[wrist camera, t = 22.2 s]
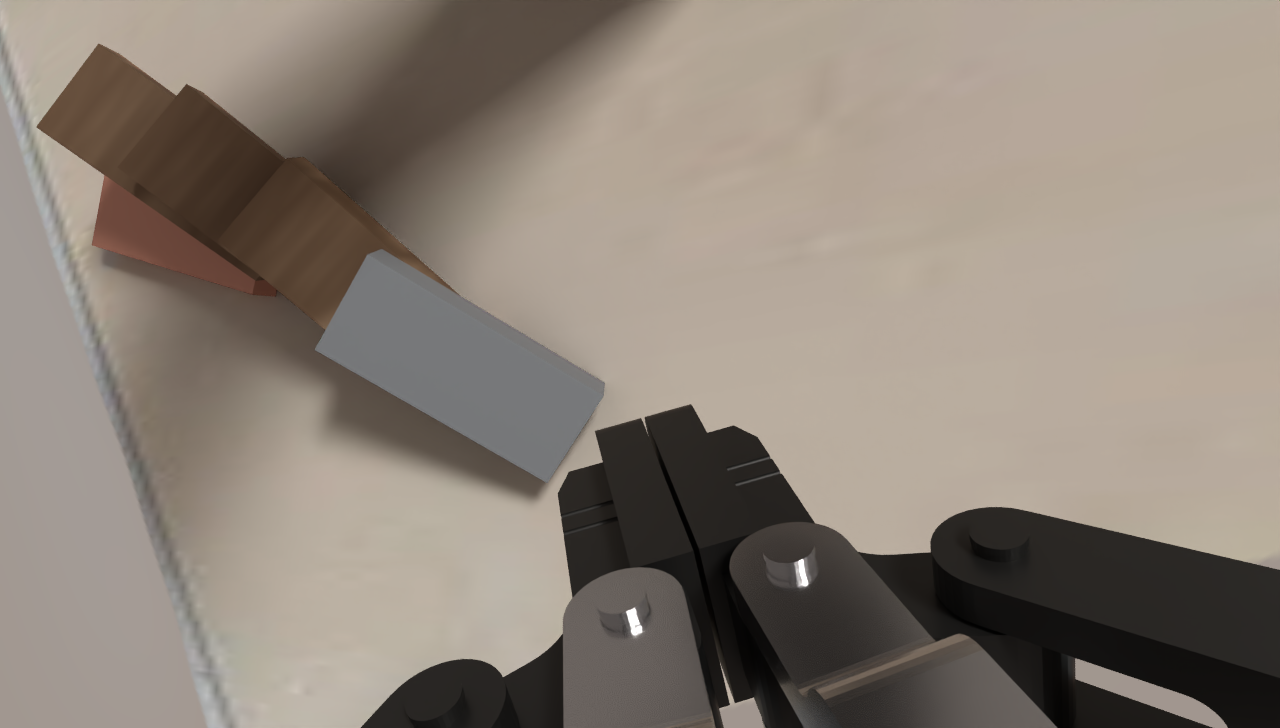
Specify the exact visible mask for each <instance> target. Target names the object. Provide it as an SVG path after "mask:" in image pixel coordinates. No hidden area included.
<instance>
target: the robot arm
mask: <svg viewBox="0 0 1280 728" xmlns="http://www.w3.org/2000/svg"><path fill="white" fill-rule="evenodd" d="M645 423H646V428H647V432H648V434H647V432H646V429H645V426H644V424H643V421H642V419H641V418H640V419H637V420H633V421H629V422H626V423H622V424H619V425H615V426H611V427H608V428H604V429H601V430H597V431H595V433H596V437H597V441H598V445H599V448H600V452H601V456H602V460H603V463H599V464H595V465H592V466H588V467H585V468H581V469H578V470H574V471H570V472H569V473H568V475H567V477H566V479H565V481H564V483H563V485H562V487H561V488H560V490H559V492H558V499H559V506H560V513H561V517H562V519H561V520H562V527H563V533H564V541H565V548H566V555H567V562H568V569H569V576H570V583H571V590H572V597H573V598H572V600H571V601H570V602H569V604H568V606H567V608H566V610H565V613H564V618H563V634H562V635H561V637H560V638H559V639H558V640H557V641H556V642H555V643H554V644H553V645H552V646H551V647H550V648H549V649H548V650H547V651H546V652H544V653H543V654H542V655H540V656H539V657H538V658H536V659H534V660H533V661H531V662H530V663H528V664H526V665H524V666H523V667H521V668H519V669H517V670H515V671H514V672H512V673H510V674H508V675H507V676H505V677H502V675H501V673H500V672H499V671H498V670H497V669H496V668H495V667H493V666H492V665H490V664H488V663H486V662H483V661H479V660H473V659H460V660H453V661H448V662H444V663H441V664H438V665H435V666H433V667H430V668H428V669H426V670H424V671H422V672H420V673H418V674H417V675H415V676H413V677H412V678H410V679H409V680H408V681H406V682H405V683H404V684H402V685H401V686H400V687H399V688H398V689H397V690H396V691H395V692H394V693H393V694H392V695H391V696H390V697H389V698H388V699H387V700H386V701H385V702H384V703H383V704H382V705H381V706H380V707H379V708H378V710H377V711H376V712H375V713H374V714H373V715H372V716H371V717H370V718H369V719H368V720H367V721H366V723H365V724H364V725H363V726H362V727H361V728H724V727H723V724H722V719H721V715H720V711H719V708H722V707H725V706H728V705H730V703H729V699H728V695H727V691H726V687H725V682H724V678H723V674H722V670H721V666H722V669H723V672H724V674H725V677H726V680H727V683H728V685H729V688H730V691H731V693H732V696H733V699H734V702H735V703H737V702H740V701H743V700H747V699H750V698H753V697H754V699H755V701H756V704H757V706H758V709H759V711H760V714H761V716H762V721H763V725H764V728H1212V727H1209V726H1206V725H1203V724H1200V723H1198V722H1195V721H1192V720H1189V719H1186V718H1183V717H1181V716H1178V715H1175V714H1172V713H1169V712H1166V711H1164V710H1161V709H1158V708H1155V707H1152V706H1149V705H1147V704H1144V703H1141V702H1138V701H1135V700H1132V699H1129V698H1127V697H1124V696H1121V695H1118V694H1115V693H1113V692H1110V691H1107V690H1104V689H1101V688H1098V687H1096V686H1093V685H1090V684H1087V683H1084V682H1081V681H1078V680H1076V679H1075V658H1077V659H1080V660H1083V661H1086V662H1089V663H1092V664H1095V665H1098V666H1101V667H1104V668H1107V669H1110V670H1113V671H1116V672H1119V673H1122V674H1125V675H1127V676H1131V677H1134V678H1137V679H1140V680H1142V681H1146V682H1148V683H1151V684H1154V685H1157V686H1160V687H1163V688H1166V689H1169V690H1172V691H1175V692H1178V693H1181V694H1184V695H1186V696H1189V697H1192V698H1194V699H1196V700H1198V701H1200V702H1201V703H1203V704H1205V705H1206V706H1208V707H1209V708H1210V709H1212V710H1213V711H1214V712H1216V714H1218V715H1219V716H1220V717H1221V718H1222V720H1223V721H1224V722H1225V724H1226V725H1227V727H1228V728H1280V570H1277V569H1273V568H1269V567H1264V566H1260V565H1256V564H1252V563H1247V562H1243V561H1239V560H1235V559H1230V558H1226V557H1222V556H1217V555H1213V554H1209V553H1205V552H1200V551H1196V550H1192V549H1187V548H1183V547H1179V546H1175V545H1170V544H1166V543H1162V542H1157V541H1153V540H1149V539H1145V538H1140V537H1136V536H1132V535H1127V534H1123V533H1119V532H1114V531H1110V530H1106V529H1102V528H1097V527H1093V526H1089V525H1084V524H1080V523H1076V522H1072V521H1067V520H1063V519H1059V518H1054V517H1050V516H1046V515H1042V514H1037V513H1033V512H1029V511H1024V510H1019V509H1014V508H1003V507H987V508H978V509H973V510H968V511H965V512H962V513H959V514H956V515H954V516H952V517H950V518H948V519H947V520H946V521H944V522H943V523H941V524H940V525H939V526H938V527H937V529H936V530H935V532H934V533H933V535H932V538H931V552H930V553H914V554H898V555H875V554H866V553H861V552H857V551H856V550H855V548H854V547H853V546H852V545H851V544H850V543H849V542H848V540H847V539H846V538H845V537H843V536H842V535H841V534H840V533H838V532H837V531H835V530H833V529H831V528H829V527H826V526H823V525H819V524H815V523H814V521H813V520H812V518H811V517H810V515H809V514H808V512H807V511H806V509H805V508H804V506H803V505H802V503H801V502H800V500H799V499H798V497H797V496H796V494H795V493H794V491H793V490H792V488H791V487H790V485H789V484H788V482H787V481H786V479H785V478H784V476H783V475H782V474H780V471H779V469H778V467H777V466H776V464H775V463H774V461H773V460H772V459H770V456H769V454H768V452H767V451H766V449H765V448H764V446H763V445H762V443H761V442H760V440H759V439H758V437H756V436H754V435H752V434H750V433H748V432H746V431H744V430H742V429H740V428H738V427H736V426H730V427H727V428H723V429H720V430H716V431H713V432H709V433H707V432H706V430H705V428H704V426H703V424H702V423H701V421H700V419H699V417H698V415H697V414H696V412H695V410H694V408H693V406H692V405H691V404H690V405H687V406H683V407H679V408H676V409H672V410H668V411H665V412H661V413H658V414H654V415H650V416H647V417H645ZM648 436H649V437H648ZM720 663H721V665H720Z"/></svg>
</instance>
